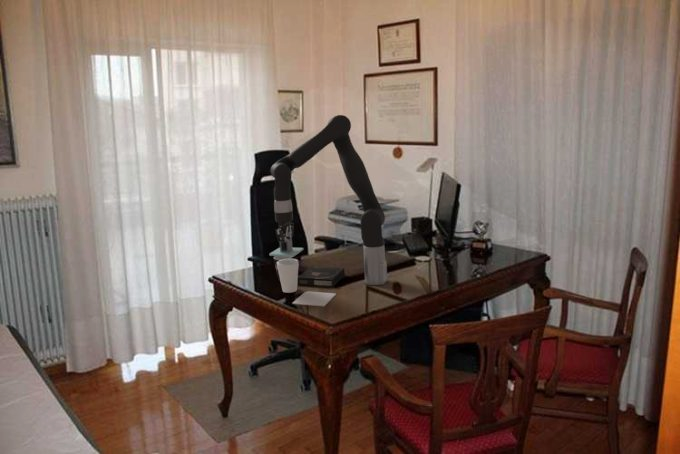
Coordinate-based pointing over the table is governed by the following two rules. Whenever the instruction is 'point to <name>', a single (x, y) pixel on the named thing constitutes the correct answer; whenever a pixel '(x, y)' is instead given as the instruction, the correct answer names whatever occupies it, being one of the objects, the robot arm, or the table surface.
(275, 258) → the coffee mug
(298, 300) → the tray
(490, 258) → the table surface
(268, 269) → the table surface
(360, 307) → the table surface
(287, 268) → the foam cup
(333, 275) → the portable cd player
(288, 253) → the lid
